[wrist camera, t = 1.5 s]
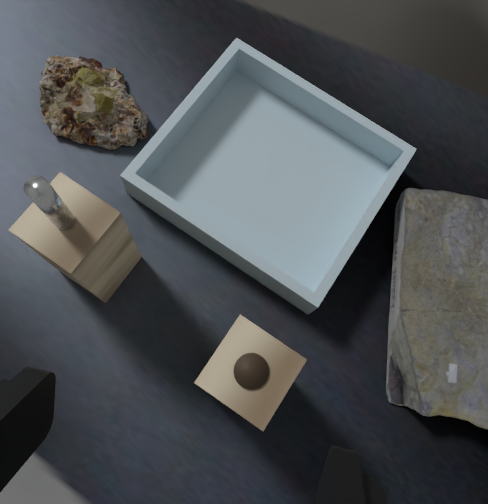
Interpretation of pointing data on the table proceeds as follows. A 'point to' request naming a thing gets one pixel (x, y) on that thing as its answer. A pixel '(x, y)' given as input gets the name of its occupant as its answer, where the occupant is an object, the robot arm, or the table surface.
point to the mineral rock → (90, 104)
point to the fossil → (439, 306)
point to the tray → (269, 174)
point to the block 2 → (250, 372)
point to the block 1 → (77, 234)
